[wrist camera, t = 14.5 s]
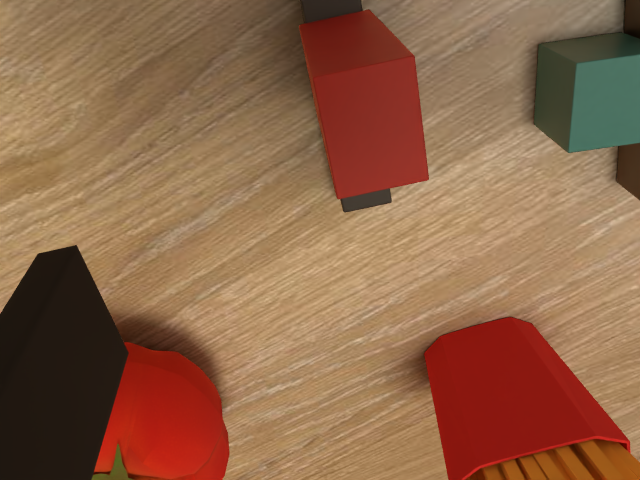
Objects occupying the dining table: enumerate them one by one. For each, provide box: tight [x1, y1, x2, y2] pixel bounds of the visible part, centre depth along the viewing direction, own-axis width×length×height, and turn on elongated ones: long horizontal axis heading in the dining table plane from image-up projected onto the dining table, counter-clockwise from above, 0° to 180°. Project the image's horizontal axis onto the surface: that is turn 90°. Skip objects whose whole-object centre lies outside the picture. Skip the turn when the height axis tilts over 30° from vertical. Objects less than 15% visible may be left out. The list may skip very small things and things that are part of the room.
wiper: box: [299, 0, 429, 212], centre depth 23 cm, size 3×14×11 cm, turn 11°
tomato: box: [92, 342, 229, 480], centre depth 33 cm, size 11×11×9 cm
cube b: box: [534, 32, 640, 153], centre depth 28 cm, size 4×4×4 cm
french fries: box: [424, 317, 640, 480], centre depth 32 cm, size 9×4×13 cm, turn 106°
